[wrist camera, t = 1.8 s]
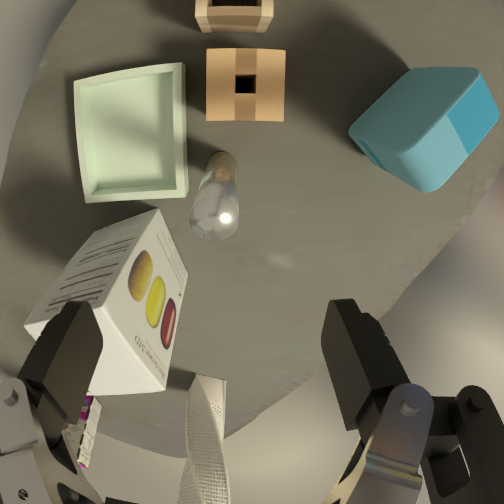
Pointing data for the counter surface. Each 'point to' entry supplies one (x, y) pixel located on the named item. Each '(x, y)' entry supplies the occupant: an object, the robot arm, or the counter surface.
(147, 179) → the tray
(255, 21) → the beech block wide bore
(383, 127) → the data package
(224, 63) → the oak block narrow bore
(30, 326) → the supplement box
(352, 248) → the counter surface
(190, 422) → the skyscraper
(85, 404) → the candy bar box
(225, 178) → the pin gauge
